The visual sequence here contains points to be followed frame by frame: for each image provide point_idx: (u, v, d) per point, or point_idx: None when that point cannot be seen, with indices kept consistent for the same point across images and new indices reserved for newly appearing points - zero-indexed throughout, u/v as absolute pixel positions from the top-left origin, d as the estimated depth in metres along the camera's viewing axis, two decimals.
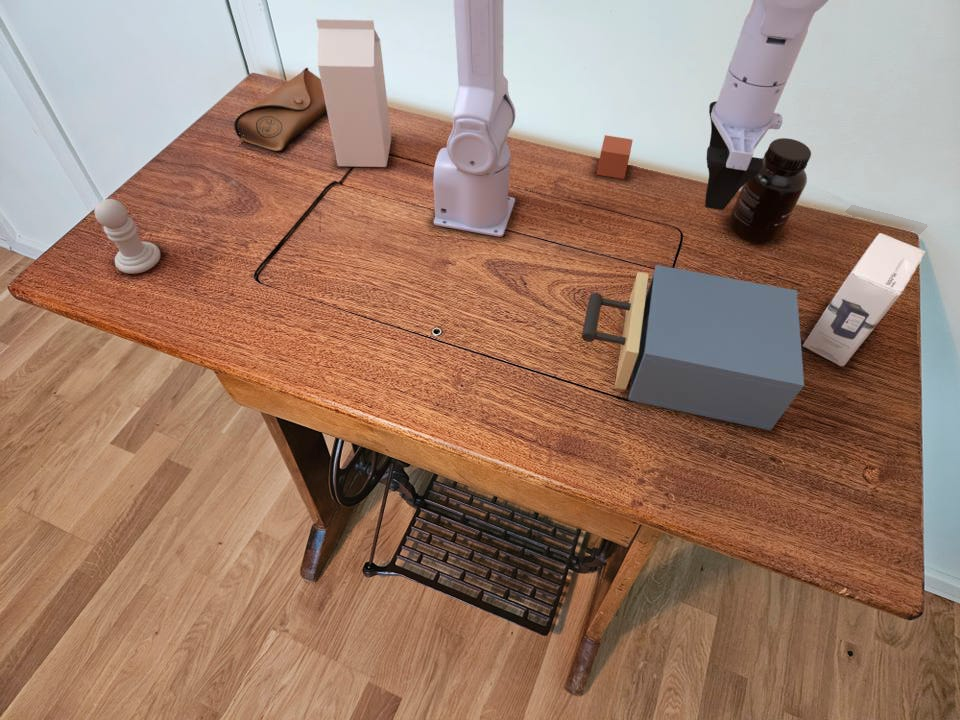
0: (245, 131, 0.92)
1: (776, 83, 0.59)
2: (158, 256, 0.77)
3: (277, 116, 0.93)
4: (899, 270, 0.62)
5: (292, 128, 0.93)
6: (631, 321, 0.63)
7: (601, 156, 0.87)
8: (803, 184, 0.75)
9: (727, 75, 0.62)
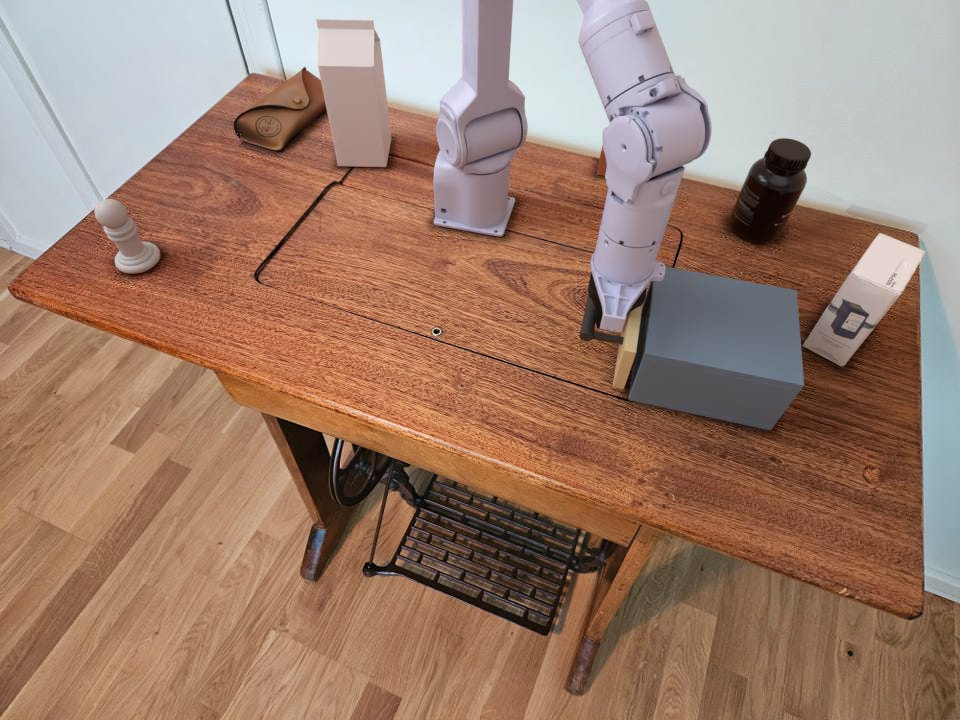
0: (244, 131, 0.92)
1: (624, 243, 0.54)
2: (158, 256, 0.77)
3: (276, 115, 0.93)
4: (899, 270, 0.62)
5: (291, 127, 0.93)
6: (629, 321, 0.63)
7: (601, 156, 0.87)
8: (803, 184, 0.75)
9: (600, 229, 0.56)
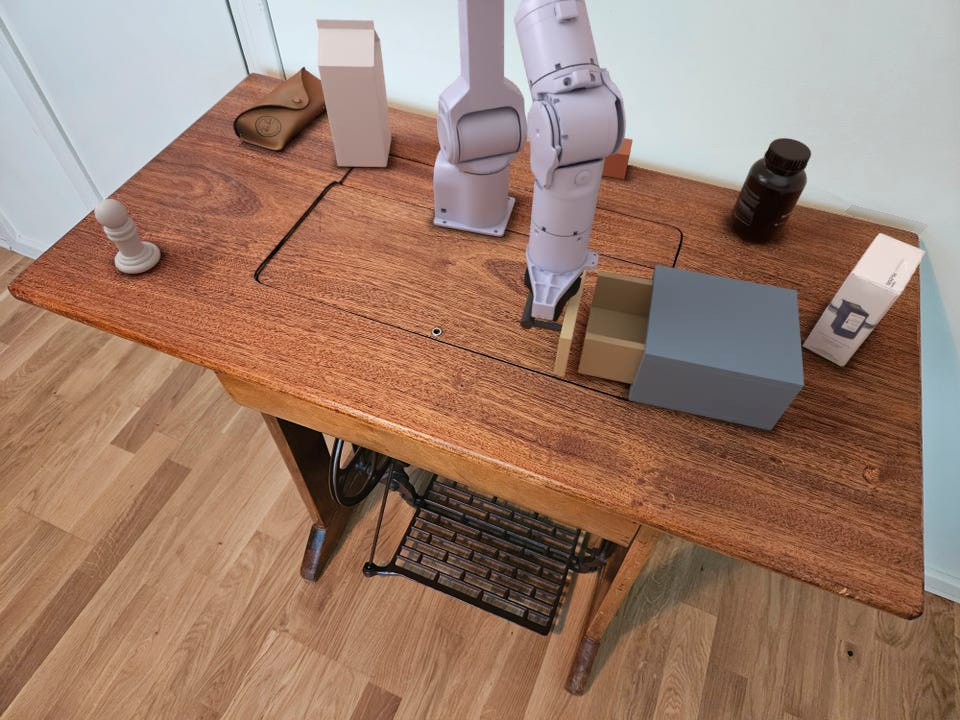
0: (244, 131, 0.92)
1: (546, 229, 0.55)
2: (158, 256, 0.77)
3: (276, 115, 0.93)
4: (899, 270, 0.62)
5: (291, 127, 0.93)
6: (567, 308, 0.64)
7: None
8: (804, 184, 0.75)
9: None
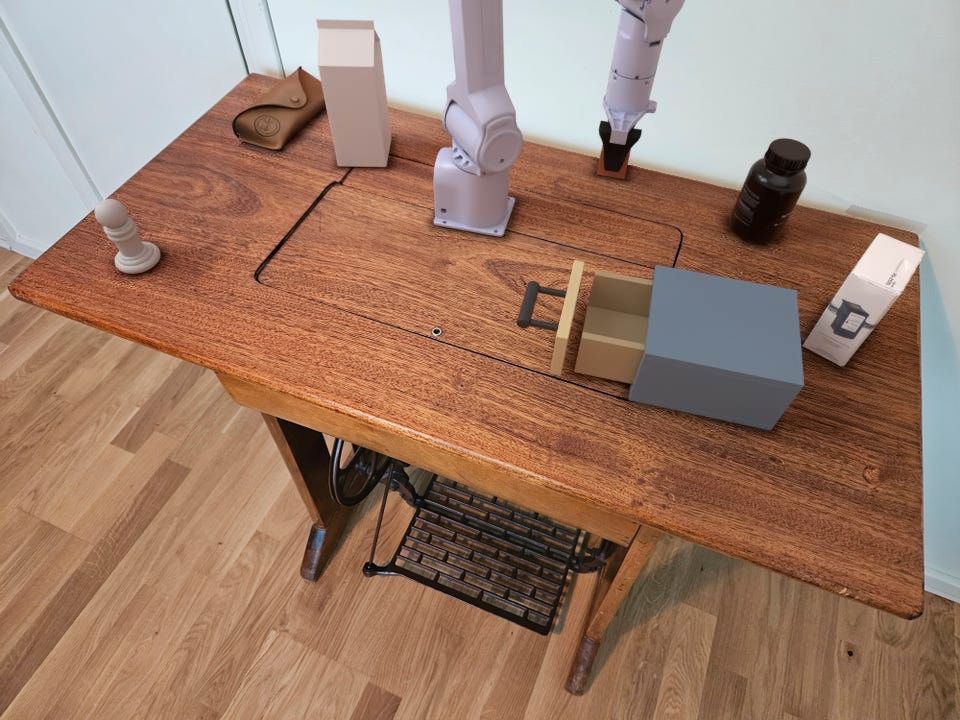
0: (243, 131, 0.92)
1: (654, 71, 0.78)
2: (158, 256, 0.77)
3: (275, 114, 0.93)
4: (899, 270, 0.62)
5: (290, 126, 0.93)
6: (563, 308, 0.64)
7: (601, 156, 0.87)
8: (803, 184, 0.75)
9: (610, 70, 0.79)
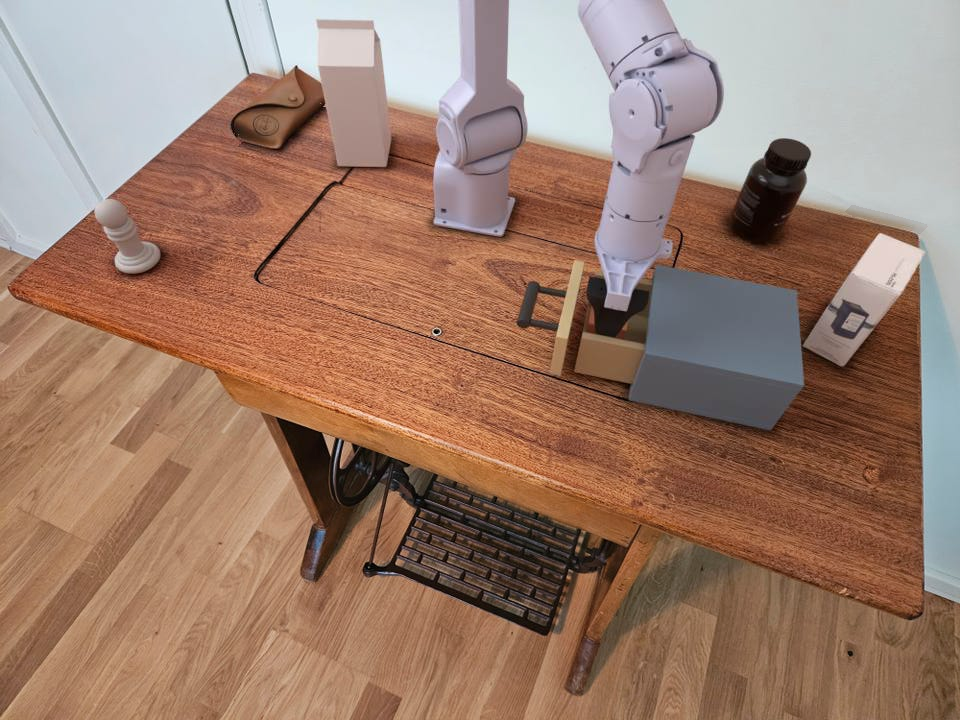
0: (242, 130, 0.92)
1: (630, 217, 0.52)
2: (158, 256, 0.77)
3: (273, 114, 0.93)
4: (899, 270, 0.62)
5: (289, 125, 0.93)
6: (563, 308, 0.64)
7: (588, 328, 0.65)
8: (803, 184, 0.75)
9: (605, 203, 0.54)
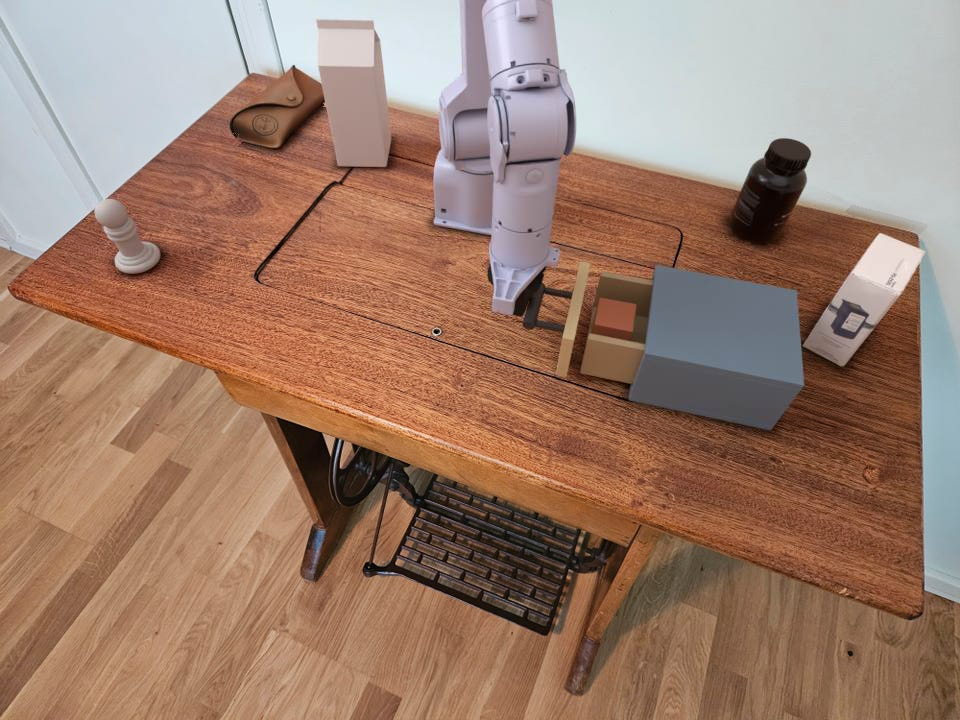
0: (241, 130, 0.92)
1: None
2: (158, 256, 0.77)
3: (272, 113, 0.93)
4: (899, 270, 0.62)
5: (288, 124, 0.93)
6: (569, 309, 0.64)
7: (594, 330, 0.65)
8: (804, 184, 0.75)
9: None
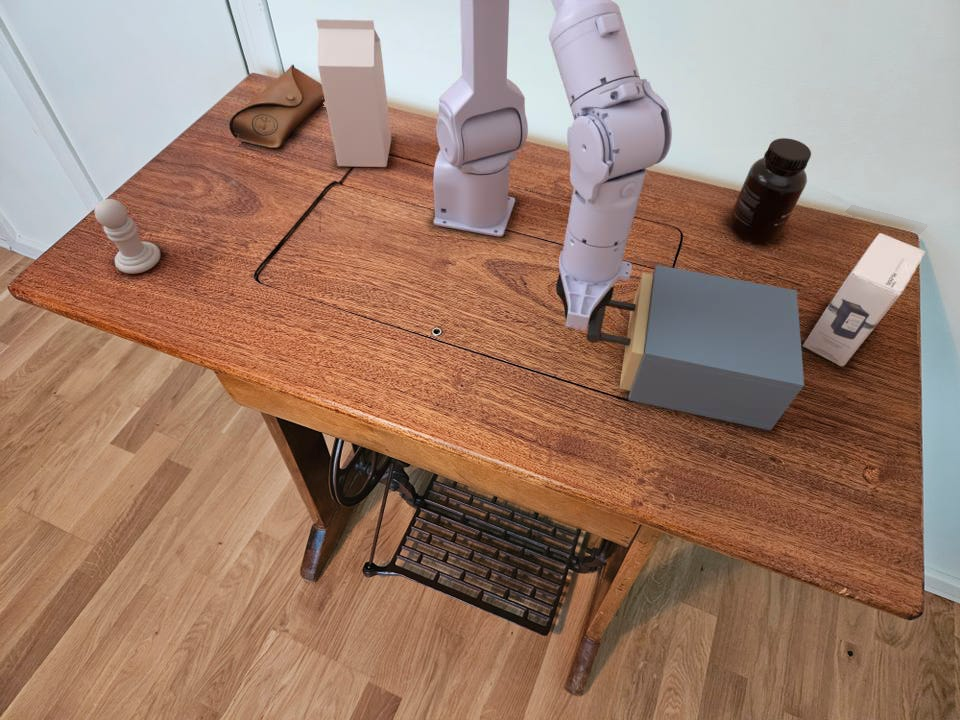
0: (241, 130, 0.92)
1: (586, 242, 0.55)
2: (158, 256, 0.77)
3: (272, 113, 0.93)
4: (899, 270, 0.62)
5: (287, 124, 0.93)
6: (636, 322, 0.63)
7: None
8: (803, 184, 0.75)
9: None
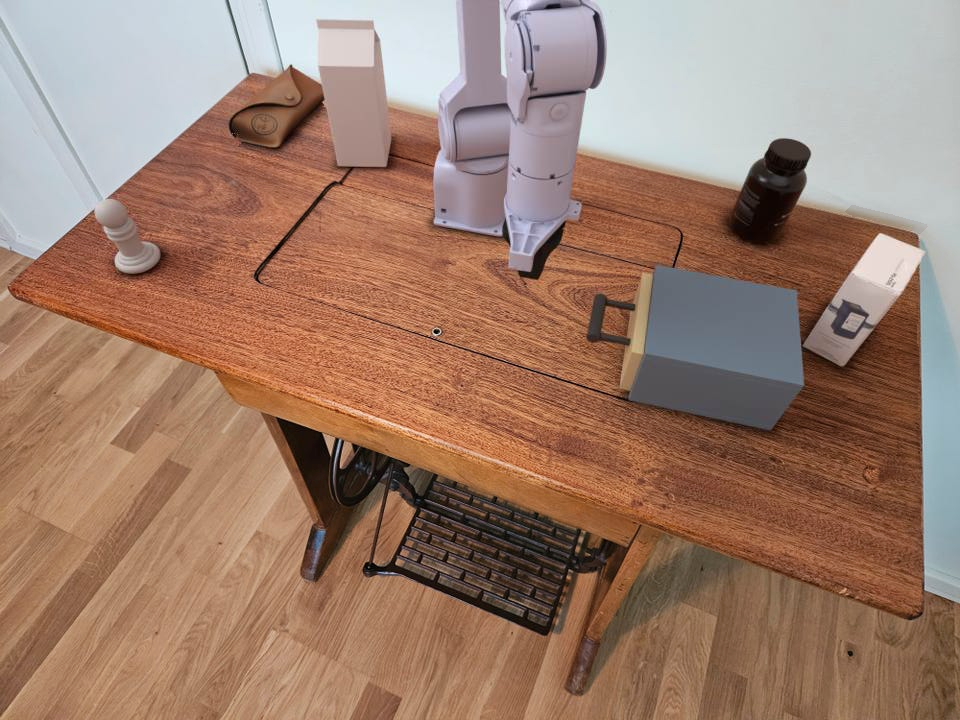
0: (240, 130, 0.92)
1: (521, 171, 0.51)
2: (158, 256, 0.77)
3: (271, 113, 0.93)
4: (899, 270, 0.62)
5: (287, 124, 0.93)
6: (636, 322, 0.63)
7: None
8: (803, 184, 0.75)
9: (508, 162, 0.53)
